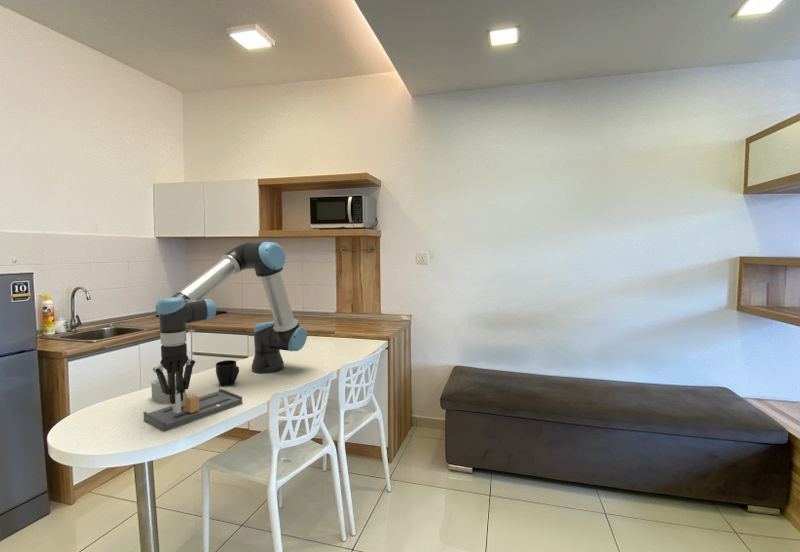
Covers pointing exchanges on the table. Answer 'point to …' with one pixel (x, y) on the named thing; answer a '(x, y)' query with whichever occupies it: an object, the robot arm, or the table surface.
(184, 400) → the fader
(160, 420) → the console
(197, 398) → the fader
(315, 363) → the table surface
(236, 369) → the mug
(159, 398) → the lumpy-topped squat cylinder
